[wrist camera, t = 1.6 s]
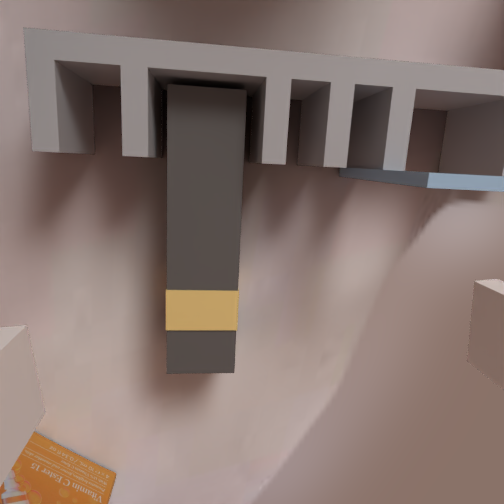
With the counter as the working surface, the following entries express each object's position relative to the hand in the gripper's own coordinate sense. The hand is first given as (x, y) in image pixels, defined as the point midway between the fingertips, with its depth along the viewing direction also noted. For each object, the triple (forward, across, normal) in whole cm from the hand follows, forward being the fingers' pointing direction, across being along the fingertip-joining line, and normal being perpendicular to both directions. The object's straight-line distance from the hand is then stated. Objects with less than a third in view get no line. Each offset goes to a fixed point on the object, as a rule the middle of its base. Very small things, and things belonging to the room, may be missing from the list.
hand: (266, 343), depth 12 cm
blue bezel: (+15, +12, +3) cm, 19 cm away
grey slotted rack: (+15, +5, +7) cm, 18 cm away
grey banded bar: (+15, -2, +1) cm, 15 cm away
